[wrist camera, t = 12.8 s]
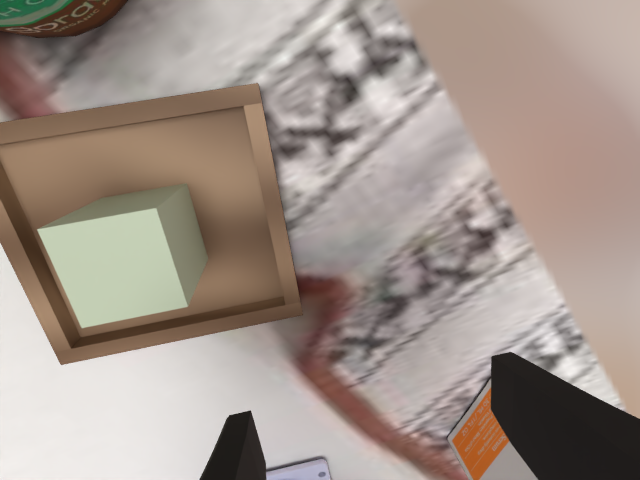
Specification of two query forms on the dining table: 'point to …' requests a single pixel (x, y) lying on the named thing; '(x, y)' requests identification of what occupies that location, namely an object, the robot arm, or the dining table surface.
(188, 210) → the sage block
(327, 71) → the dining table surface
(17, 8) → the food container
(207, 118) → the walnut tray
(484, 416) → the skincare box
